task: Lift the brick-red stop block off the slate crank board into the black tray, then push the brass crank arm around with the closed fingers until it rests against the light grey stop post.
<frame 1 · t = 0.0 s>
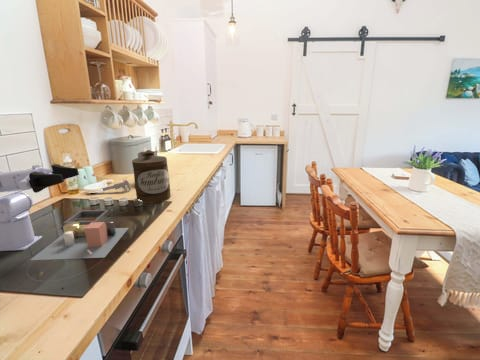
hand: (70, 174, 76), 22 cm above the worktop, tool horizontal, fingers open, 7 cm apart
crank board: (85, 245, 80), on the worktop
stop block: (98, 243, 79), point 1 cm above the worktop, touching crank board
caliper: (108, 193, 130), on the worktop
crank: (90, 229, 83), point 3 cm above the worktop, hinge at 0.0°
tray: (88, 222, 97), on the worktop
coffee box: (150, 180, 150), on the worktop
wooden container: (154, 198, 121), on the worktop
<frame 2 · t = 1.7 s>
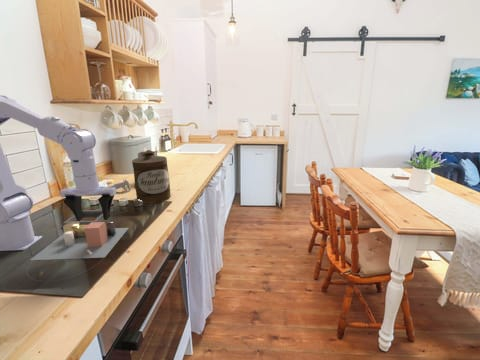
hand: (93, 219, 77), 9 cm above the worktop, tool pointing down, fingers open, 7 cm apart
nothing on the worktop moved.
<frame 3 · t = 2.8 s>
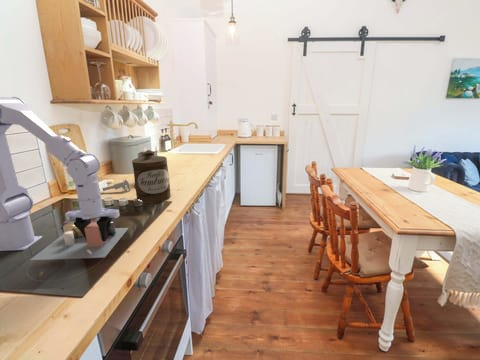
hand: (97, 240, 79), 2 cm above the worktop, tool pointing down, fingers closed on stop block, 4 cm apart
stop block: (98, 243, 79), point 1 cm above the worktop, touching crank board, gripper
everything else where it was.
when the fingers open (3 cm above the worktop, at t = 7.2 s): stop block drops 1 cm, resting on tray.
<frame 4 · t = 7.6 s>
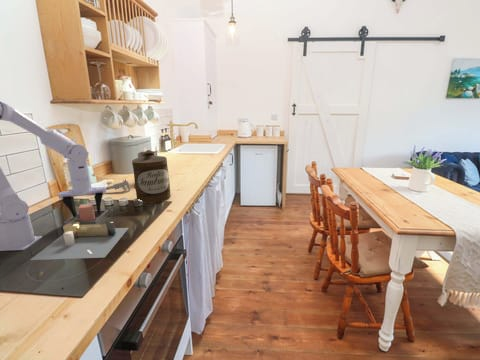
hand: (87, 214, 96), 3 cm above the worktop, tool pointing down, fingers open, 7 cm apart
stop block: (88, 221, 96), resting on tray
everything else where it was.
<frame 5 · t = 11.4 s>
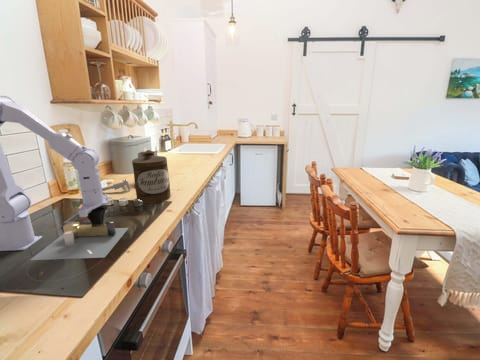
hand: (98, 228, 86), 2 cm above the worktop, tool pointing down, fingers closed, pressing on crank
crank: (90, 229, 83), point 3 cm above the worktop, hinge at 0.0°, touching gripper
everything else where it was.
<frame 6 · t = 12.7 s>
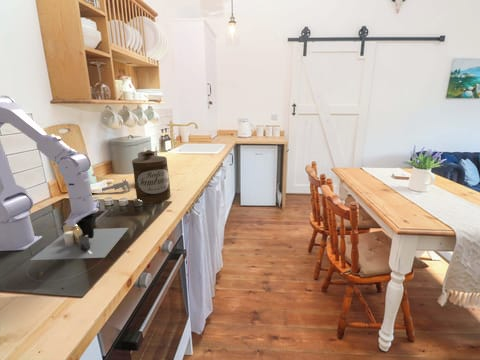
hand: (89, 237, 80), 2 cm above the worktop, tool pointing down, fingers closed, pressing on crank
crank: (77, 235, 80), point 3 cm above the worktop, hinge at -46.3°, touching crank board, gripper
everything else where it was.
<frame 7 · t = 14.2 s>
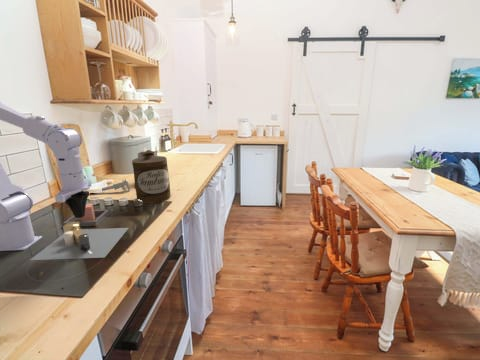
hand: (79, 216, 78), 9 cm above the worktop, tool pointing down, fingers closed
crank: (77, 235, 80), point 3 cm above the worktop, hinge at -46.3°, touching crank board
everything else where it was.
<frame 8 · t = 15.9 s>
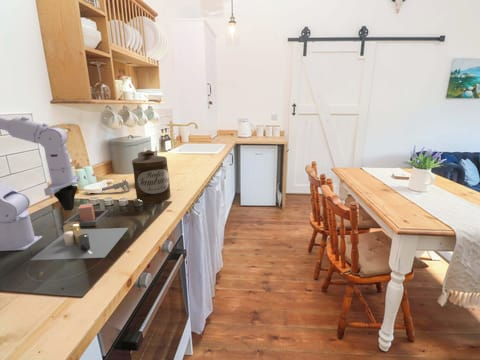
hand: (69, 209, 83), 9 cm above the worktop, tool pointing down, fingers closed
nothing on the worktop moved.
at the end: crank at -46° (first picture: +0°); stop block inside the target area on the tray (0.2 cm from its centre), point 0.5 cm above the tray's base; stop block tilted 0° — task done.
